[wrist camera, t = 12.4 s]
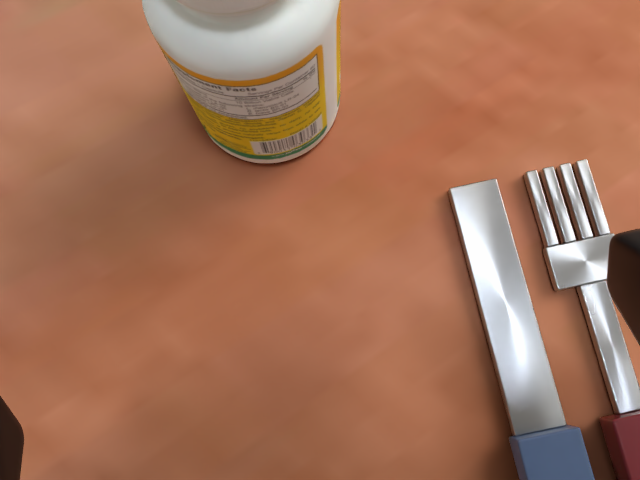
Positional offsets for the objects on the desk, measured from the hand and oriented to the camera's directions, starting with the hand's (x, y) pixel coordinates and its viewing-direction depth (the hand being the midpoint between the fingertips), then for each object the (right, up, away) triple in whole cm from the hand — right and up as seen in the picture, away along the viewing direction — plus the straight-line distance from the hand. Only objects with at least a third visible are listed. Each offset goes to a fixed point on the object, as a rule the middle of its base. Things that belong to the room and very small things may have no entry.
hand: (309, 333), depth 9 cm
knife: (+7, -4, +11) cm, 14 cm away
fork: (+10, -3, +11) cm, 15 cm away
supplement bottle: (-2, +7, +14) cm, 16 cm away
